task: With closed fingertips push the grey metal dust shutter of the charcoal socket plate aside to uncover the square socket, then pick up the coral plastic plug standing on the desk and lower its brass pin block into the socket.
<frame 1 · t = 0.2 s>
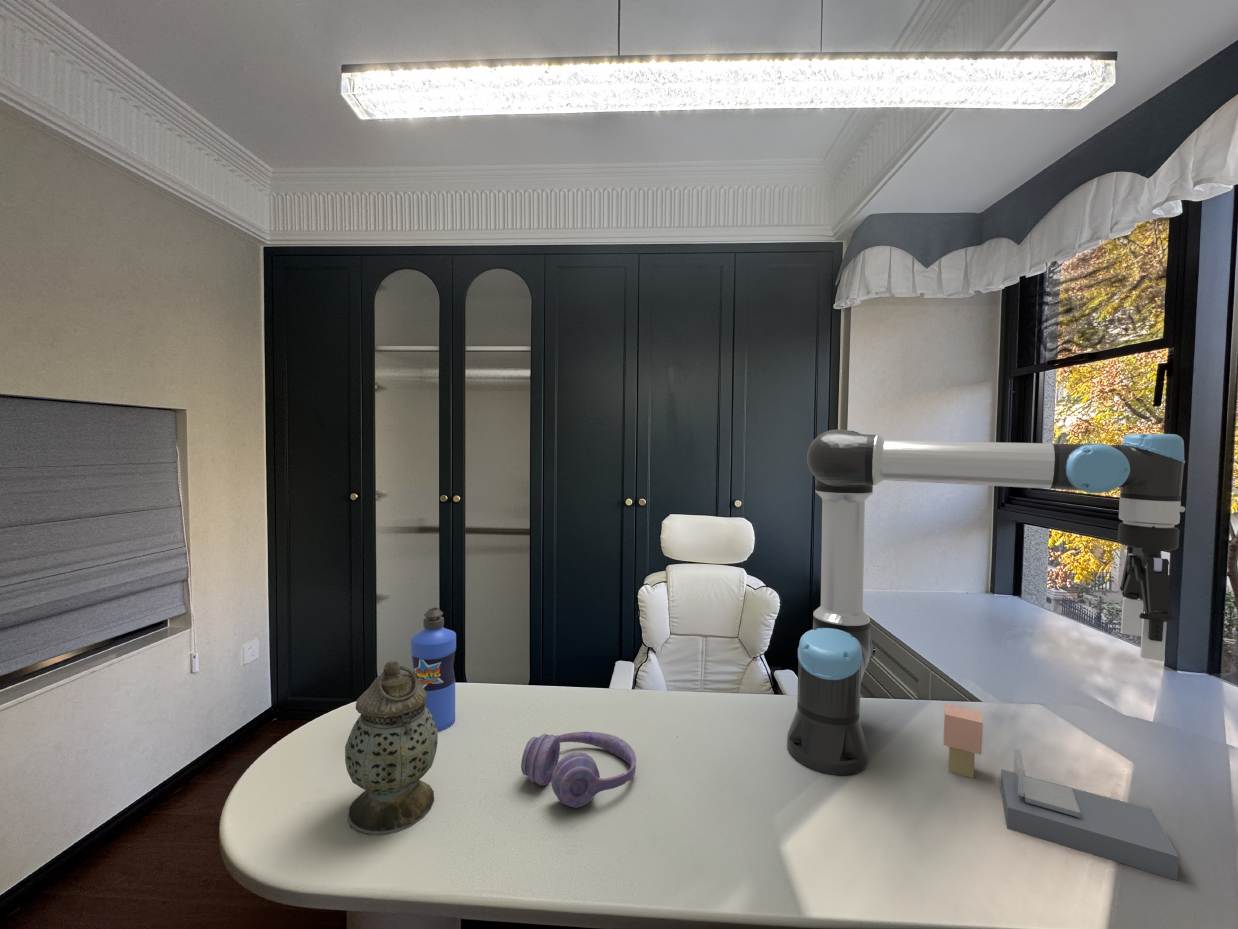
hand: (1140, 646, 94), 28 cm above the table, fingers open, 13 cm apart
plug: (960, 769, 104), on the table
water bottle: (433, 723, 119), on the table
shutter: (1045, 781, 91), point 6 cm above the table, slide at 0.0 cm
socket block: (1078, 829, 88), on the table
lantern: (393, 809, 91), on the table
headphones: (583, 778, 101), on the table
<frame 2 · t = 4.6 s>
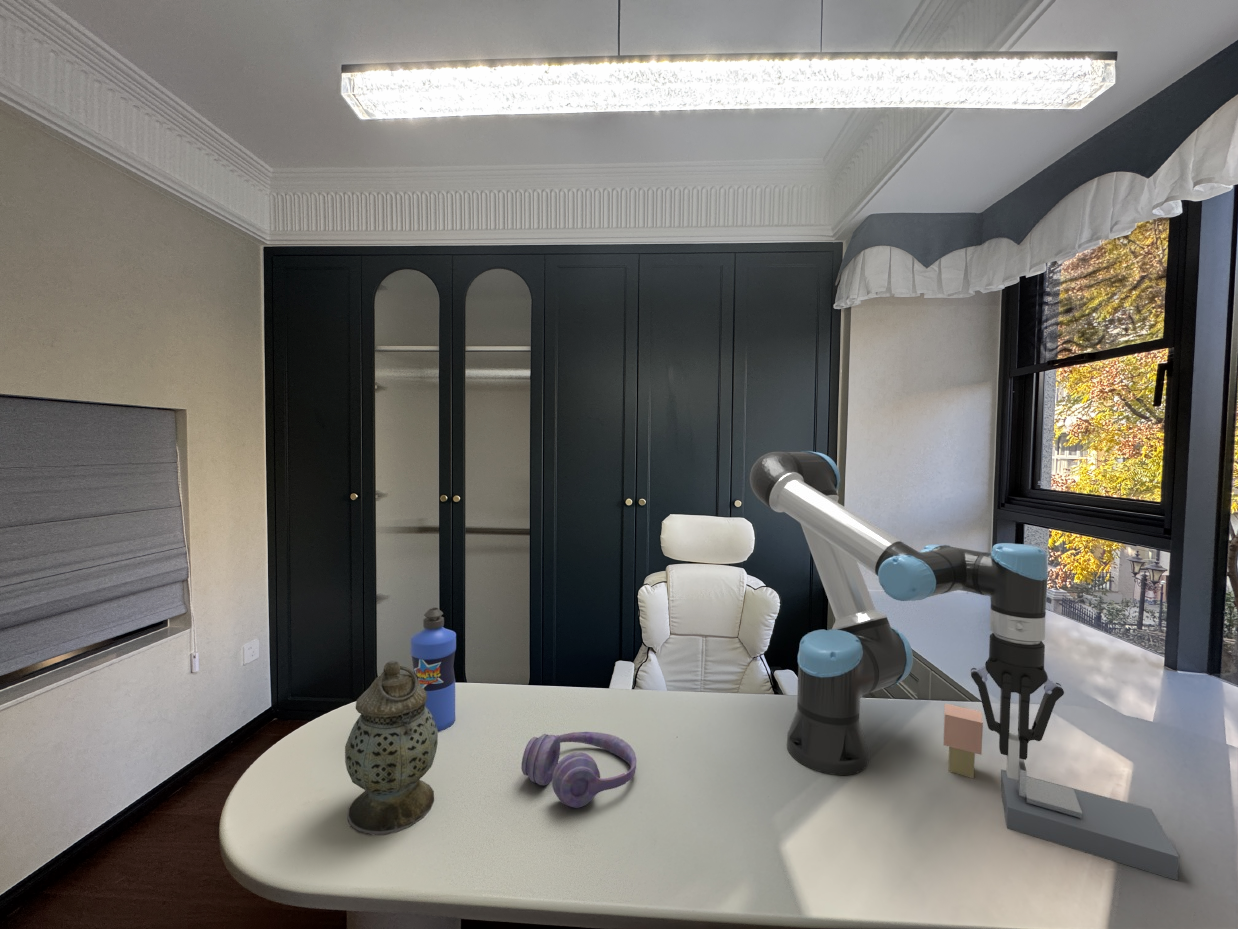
hand: (1012, 774, 93), 6 cm above the table, fingers closed
shutter: (1047, 781, 90), point 6 cm above the table, slide at 0.2 cm, touching gripper
everything else where it was.
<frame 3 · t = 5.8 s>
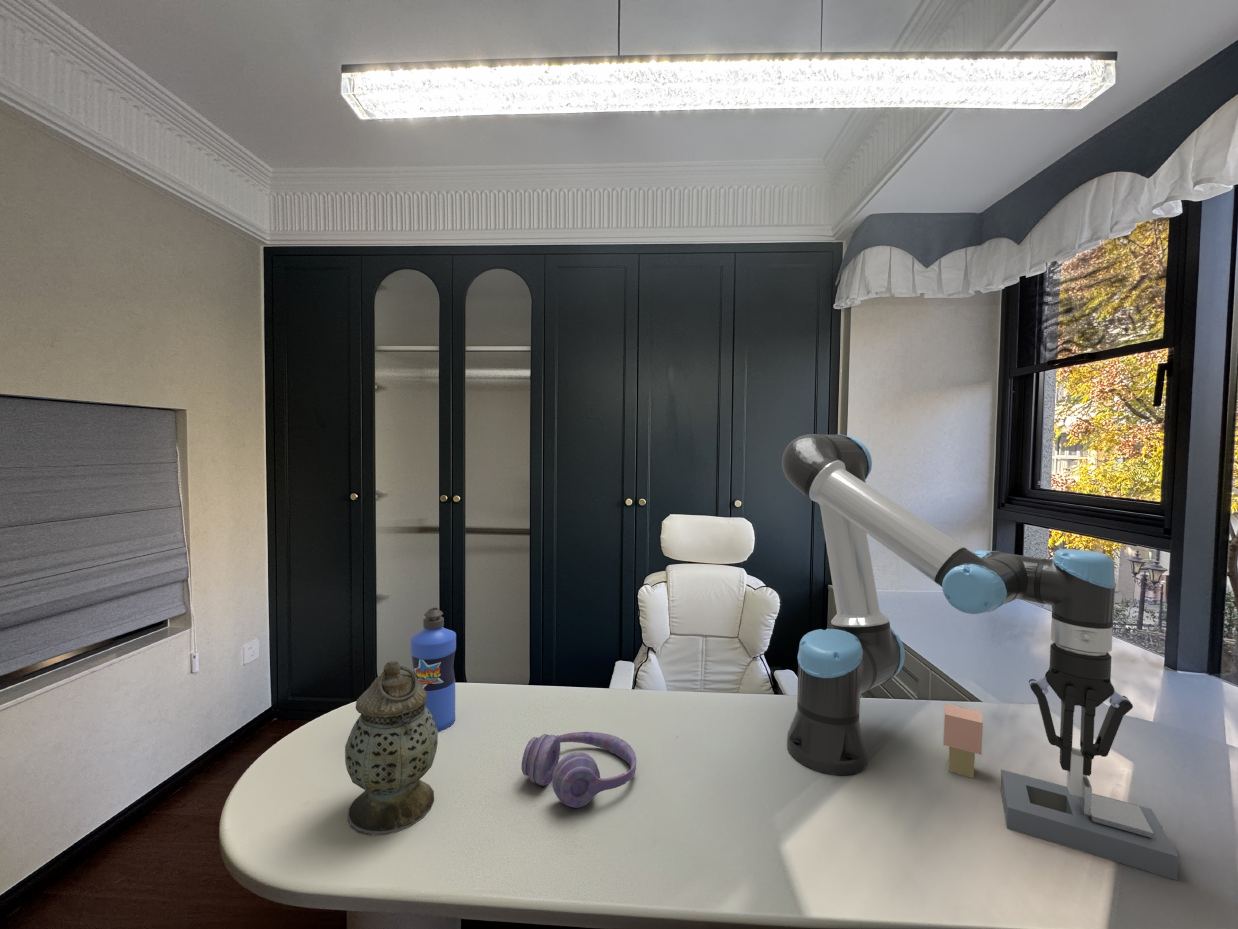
hand: (1074, 790, 89), 6 cm above the table, fingers closed
shutter: (1112, 799, 86), point 6 cm above the table, slide at 8.4 cm, touching gripper
everything else where it was.
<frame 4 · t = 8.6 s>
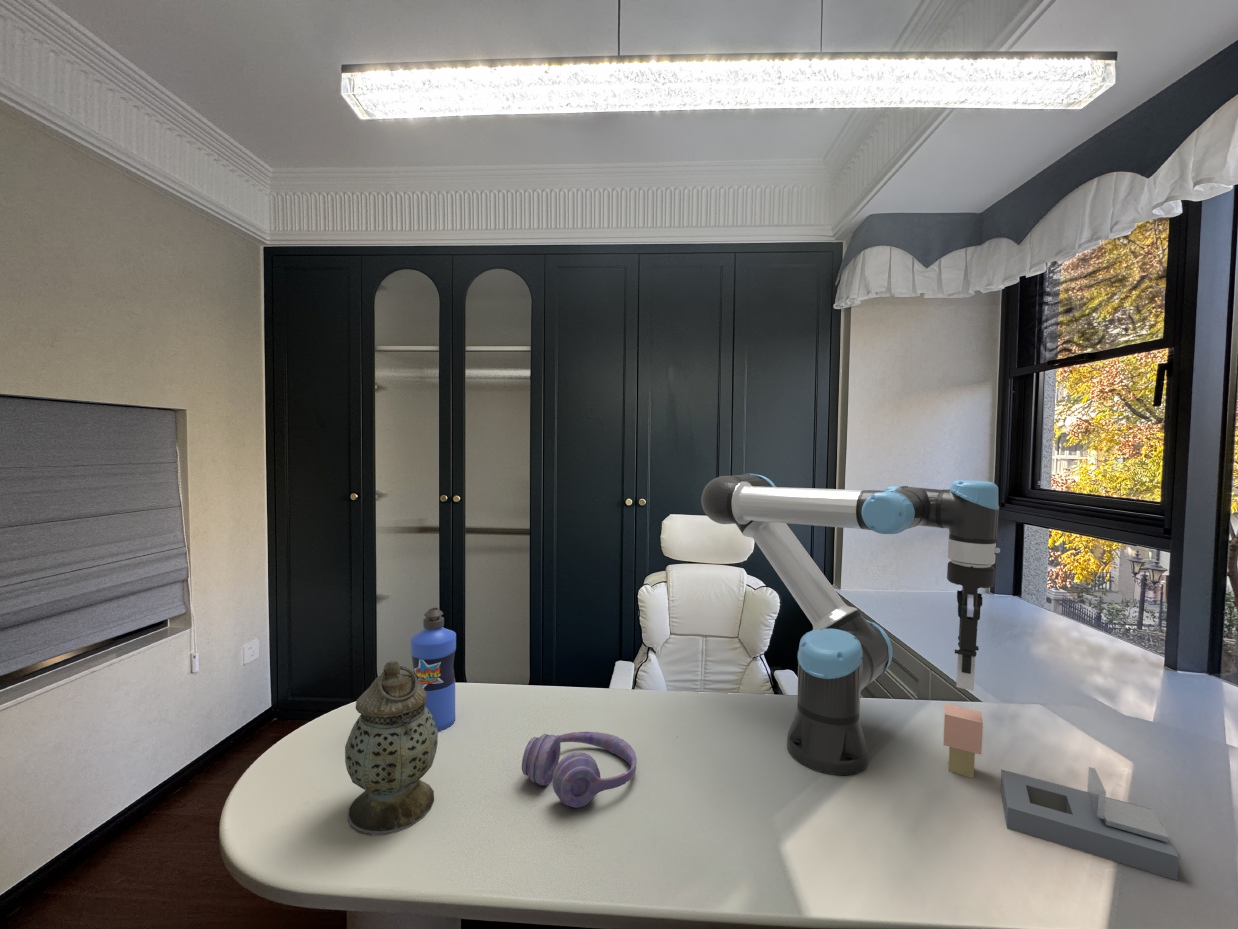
hand: (964, 685, 104), 16 cm above the table, fingers closed
shutter: (1126, 802, 85), point 6 cm above the table, slide at 10.0 cm
everything else where it was.
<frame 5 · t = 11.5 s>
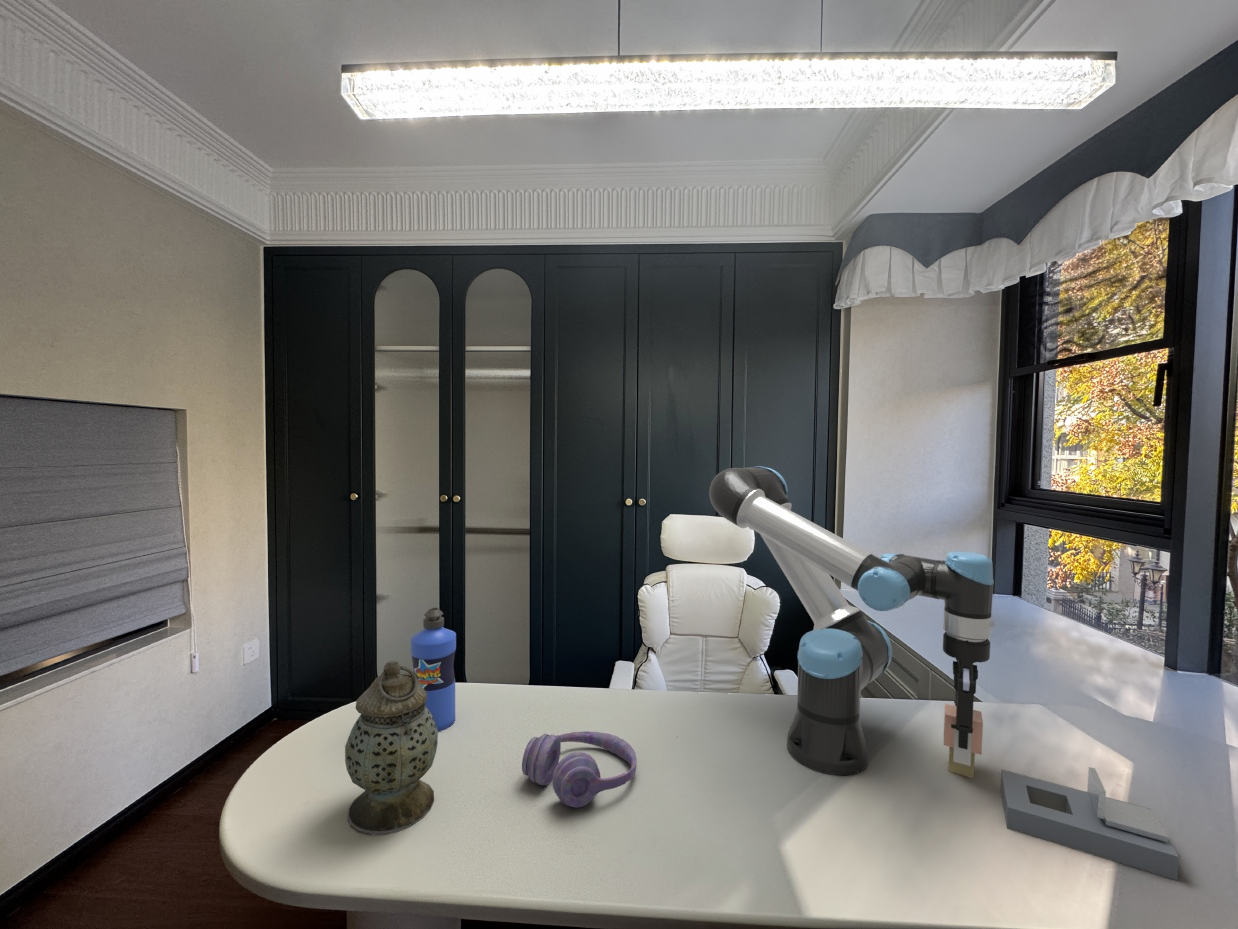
hand: (961, 755, 104), 3 cm above the table, fingers closed on plug, 5 cm apart
plug: (960, 769, 104), on the table, touching gripper
everything else where it was.
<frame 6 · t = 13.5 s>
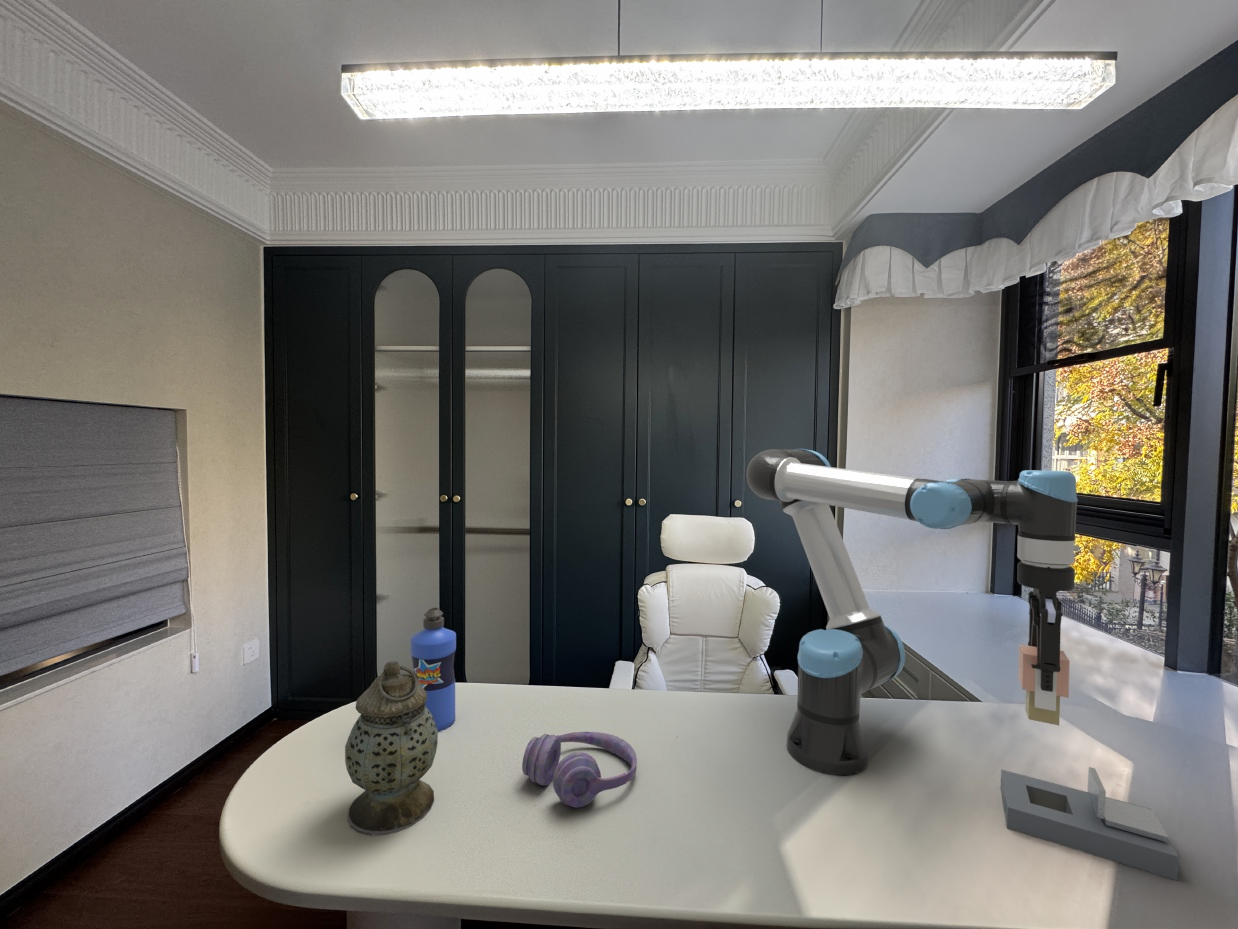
hand: (1042, 701, 91), 19 cm above the table, fingers closed on plug, 5 cm apart
plug: (1041, 717, 92), point 17 cm above the table, touching gripper
everything else where it was.
when the fingers open (5 cm above the table, at t = 16.0 s): plug drops 2 cm, resting on socket block.
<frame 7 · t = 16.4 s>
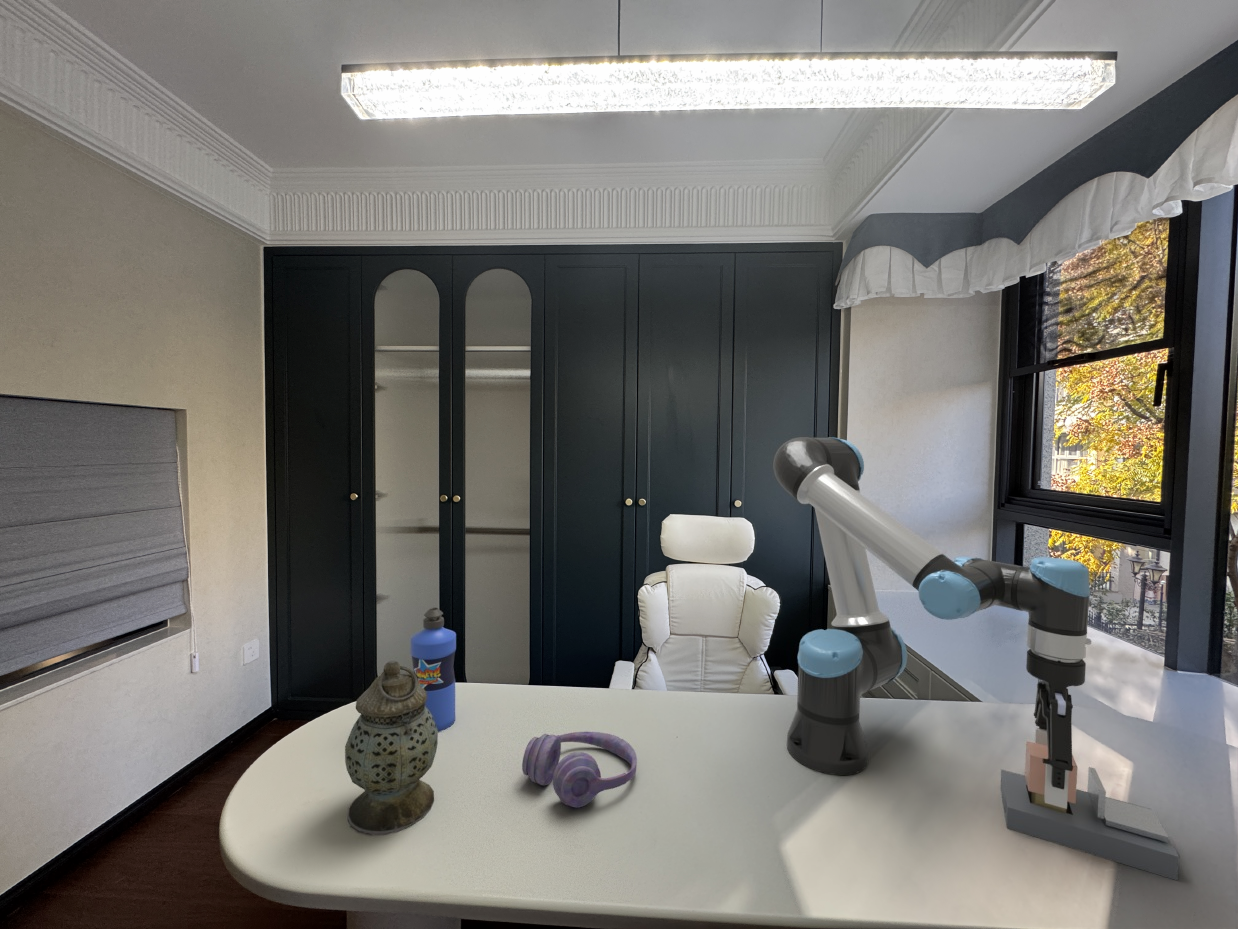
hand: (1049, 784, 90), 6 cm above the table, fingers open, 11 cm apart
plug: (1047, 818, 91), resting on socket block
everything else where it was.
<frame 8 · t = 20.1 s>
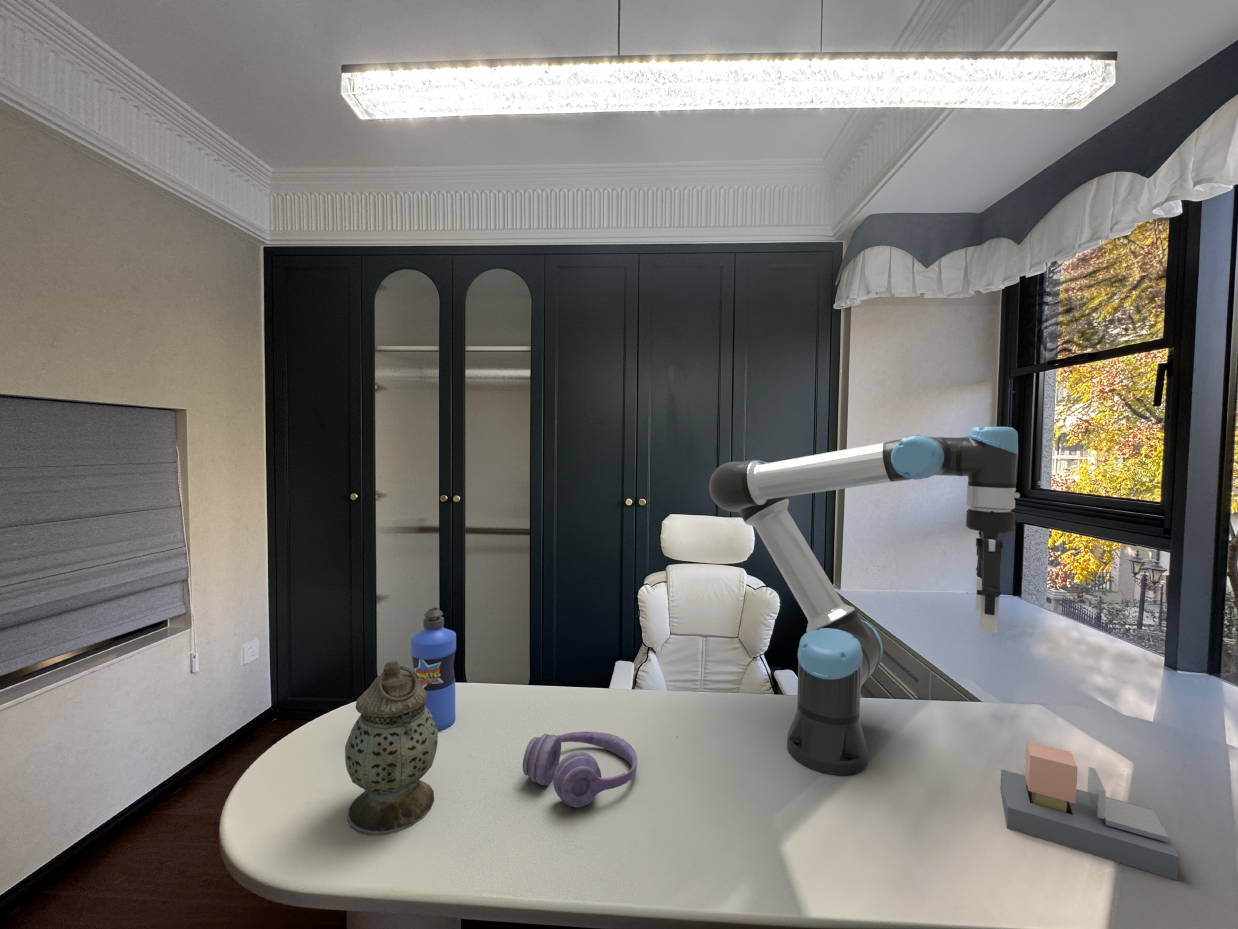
hand: (985, 621, 103), 29 cm above the table, fingers open, 13 cm apart
nothing on the table moved.
at the end: shutter slide at 10.0 cm; plug 0.0 cm from the target spot on the socket block, point 0.3 cm above the socket block's base; plug tilted 0° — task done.
